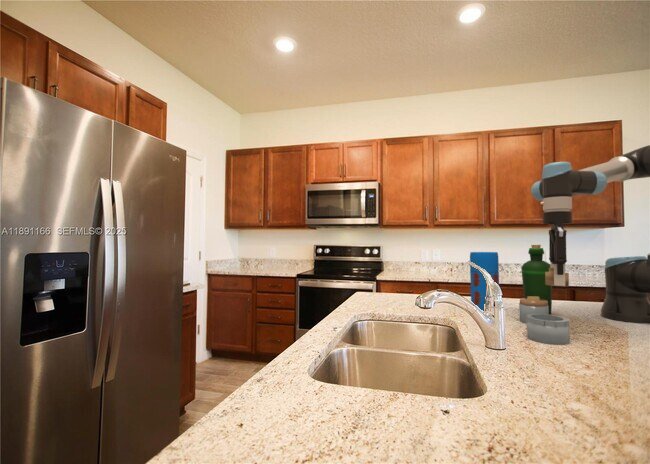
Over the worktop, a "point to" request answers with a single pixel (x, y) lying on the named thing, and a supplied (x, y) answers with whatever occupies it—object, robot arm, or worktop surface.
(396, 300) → the worktop surface
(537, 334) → the canister
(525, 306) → the canister
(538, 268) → the bottle
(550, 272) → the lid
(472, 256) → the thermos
